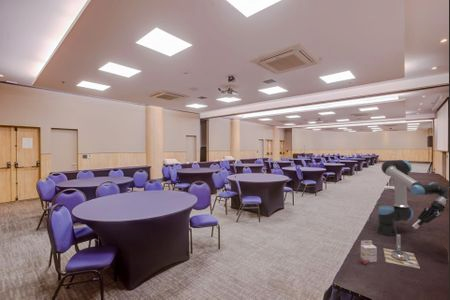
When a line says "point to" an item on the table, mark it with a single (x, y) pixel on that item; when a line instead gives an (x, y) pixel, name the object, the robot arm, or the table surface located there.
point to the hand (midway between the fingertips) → (414, 227)
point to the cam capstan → (399, 251)
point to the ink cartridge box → (368, 252)
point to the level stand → (411, 262)
